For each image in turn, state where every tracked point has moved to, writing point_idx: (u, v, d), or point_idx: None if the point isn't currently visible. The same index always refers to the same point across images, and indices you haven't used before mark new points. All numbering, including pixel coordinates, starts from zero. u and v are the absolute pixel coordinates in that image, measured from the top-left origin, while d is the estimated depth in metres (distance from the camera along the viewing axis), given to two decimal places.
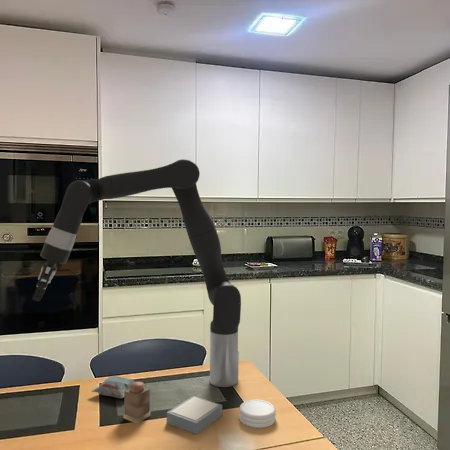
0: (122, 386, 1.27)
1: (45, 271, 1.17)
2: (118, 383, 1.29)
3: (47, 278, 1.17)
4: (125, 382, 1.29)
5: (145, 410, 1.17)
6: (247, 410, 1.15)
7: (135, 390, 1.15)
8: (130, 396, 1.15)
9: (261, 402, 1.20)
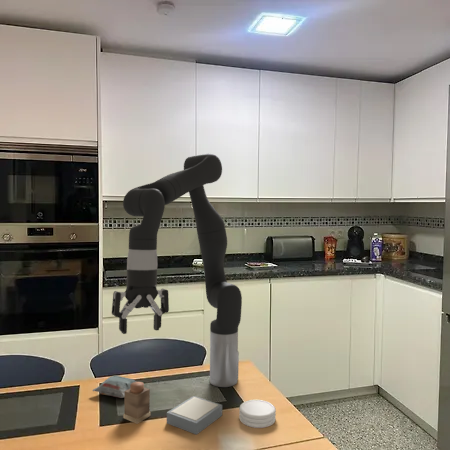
0: (122, 386, 1.28)
1: None
2: (119, 382, 1.29)
3: None
4: (126, 381, 1.30)
5: (145, 410, 1.17)
6: (247, 410, 1.15)
7: (135, 390, 1.15)
8: (130, 396, 1.15)
9: (261, 402, 1.20)
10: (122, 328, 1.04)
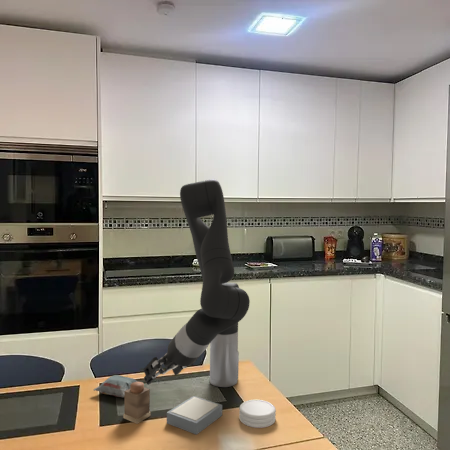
0: (123, 385, 1.28)
1: None
2: (120, 382, 1.29)
3: None
4: (126, 381, 1.30)
5: (145, 410, 1.17)
6: (247, 410, 1.15)
7: (135, 390, 1.15)
8: (130, 396, 1.15)
9: (261, 402, 1.20)
10: (148, 381, 1.04)
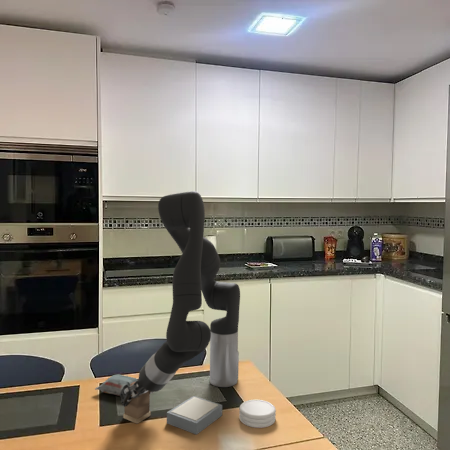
0: (124, 385, 1.29)
1: None
2: (121, 381, 1.30)
3: None
4: (127, 380, 1.31)
5: (145, 410, 1.17)
6: (247, 410, 1.15)
7: None
8: None
9: (261, 402, 1.20)
10: (124, 404, 1.15)
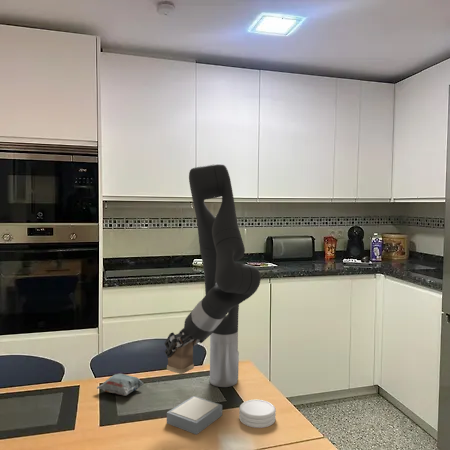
0: (125, 384, 1.29)
1: None
2: (122, 380, 1.30)
3: None
4: (129, 379, 1.31)
5: (189, 362, 1.15)
6: (247, 410, 1.15)
7: None
8: None
9: (261, 402, 1.20)
10: (168, 354, 1.14)
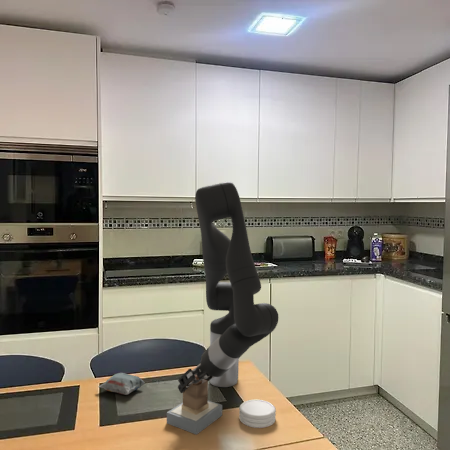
0: (127, 383, 1.30)
1: None
2: (124, 379, 1.31)
3: None
4: (130, 378, 1.32)
5: (203, 401, 1.15)
6: (247, 410, 1.15)
7: None
8: None
9: (261, 402, 1.20)
10: (181, 390, 1.13)
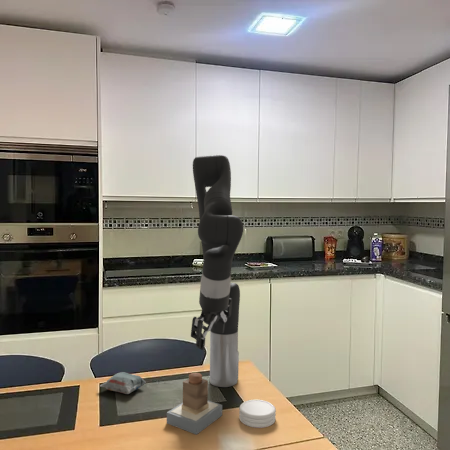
0: (128, 382, 1.30)
1: None
2: (125, 379, 1.32)
3: None
4: (131, 378, 1.32)
5: (203, 401, 1.15)
6: (247, 410, 1.15)
7: (194, 381, 1.14)
8: (189, 386, 1.14)
9: (261, 402, 1.20)
10: (201, 346, 1.09)
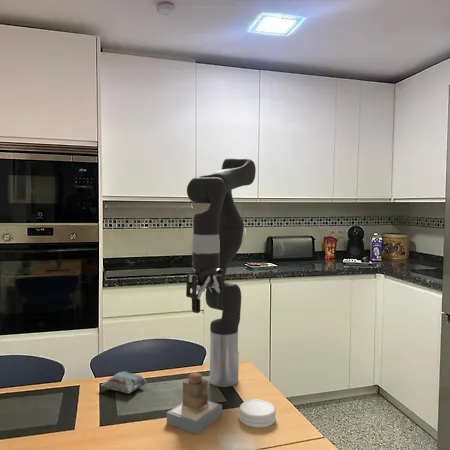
0: (129, 382, 1.31)
1: None
2: (126, 378, 1.32)
3: None
4: (132, 377, 1.33)
5: (203, 401, 1.15)
6: (247, 410, 1.15)
7: (194, 381, 1.14)
8: (189, 386, 1.14)
9: (261, 402, 1.20)
10: (196, 308, 1.12)
